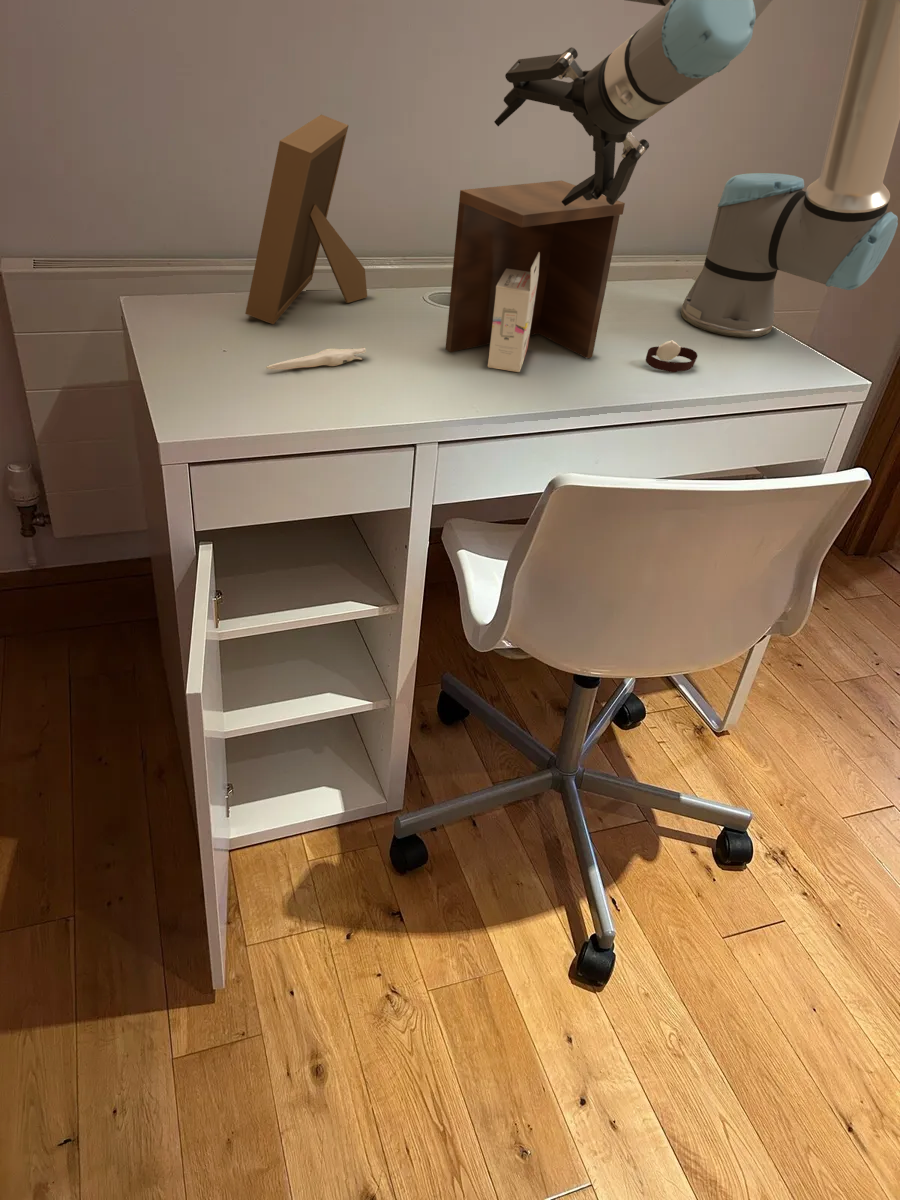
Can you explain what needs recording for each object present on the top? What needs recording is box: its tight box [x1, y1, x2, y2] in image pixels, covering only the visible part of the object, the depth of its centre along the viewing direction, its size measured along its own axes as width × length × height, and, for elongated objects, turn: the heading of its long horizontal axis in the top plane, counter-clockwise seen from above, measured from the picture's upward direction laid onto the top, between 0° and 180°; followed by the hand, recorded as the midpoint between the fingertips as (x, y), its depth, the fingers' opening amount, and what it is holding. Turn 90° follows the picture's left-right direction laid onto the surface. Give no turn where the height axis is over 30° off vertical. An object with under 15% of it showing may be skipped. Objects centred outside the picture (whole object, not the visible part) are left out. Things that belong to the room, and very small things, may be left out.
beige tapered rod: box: [265, 347, 367, 370], centre depth 125 cm, size 15×3×2 cm, turn 123°
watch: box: [645, 339, 698, 373], centre depth 136 cm, size 8×5×4 cm, turn 100°
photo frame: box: [245, 114, 368, 325], centre depth 137 cm, size 15×22×25 cm
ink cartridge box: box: [487, 252, 540, 373], centre depth 129 cm, size 9×5×15 cm, turn 168°
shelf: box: [445, 179, 626, 359], centre depth 130 cm, size 19×12×22 cm
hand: (536, 157), depth 117 cm, fingers open, 12 cm apart
